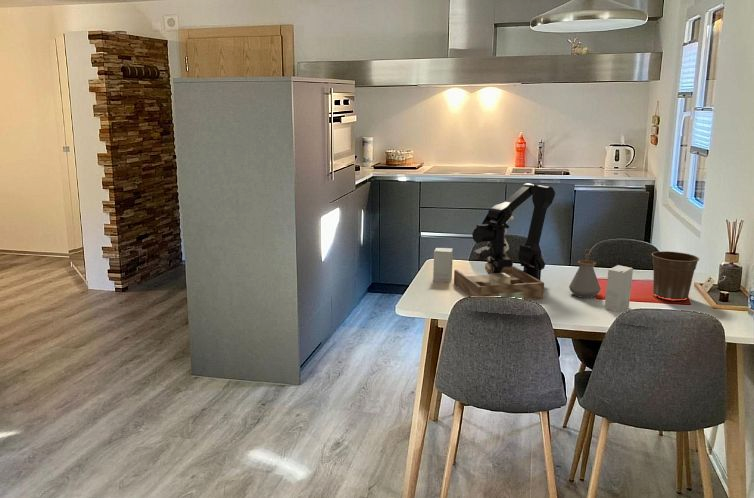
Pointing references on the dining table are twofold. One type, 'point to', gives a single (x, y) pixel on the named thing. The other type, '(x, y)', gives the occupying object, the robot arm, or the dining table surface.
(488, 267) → the candle holder
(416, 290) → the dining table surface
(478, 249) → the robot arm
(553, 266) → the dining table surface
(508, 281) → the birch block
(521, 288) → the box
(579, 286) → the coffee pot
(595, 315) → the dining table surface
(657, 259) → the plant pot
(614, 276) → the skincare box
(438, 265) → the supplement box
